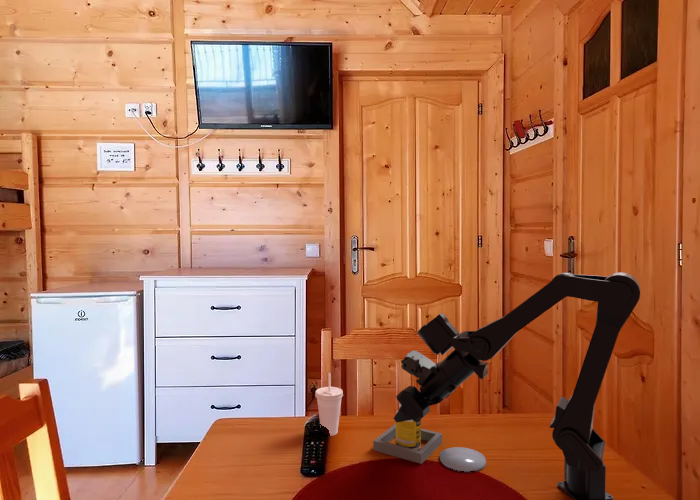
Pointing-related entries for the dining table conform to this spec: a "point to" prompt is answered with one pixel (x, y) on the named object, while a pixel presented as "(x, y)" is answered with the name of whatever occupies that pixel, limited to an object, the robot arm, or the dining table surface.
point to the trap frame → (404, 452)
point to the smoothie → (329, 406)
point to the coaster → (462, 459)
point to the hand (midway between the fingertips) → (402, 414)
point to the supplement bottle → (408, 433)
